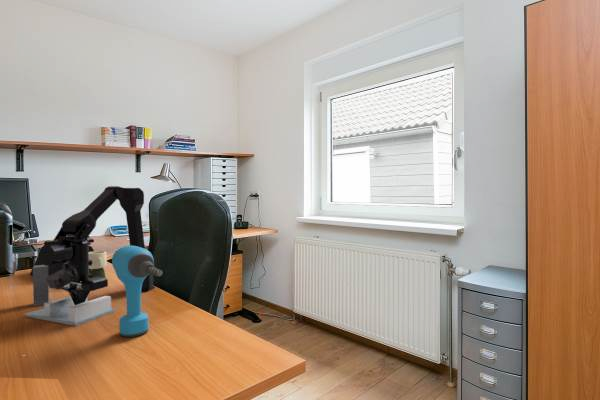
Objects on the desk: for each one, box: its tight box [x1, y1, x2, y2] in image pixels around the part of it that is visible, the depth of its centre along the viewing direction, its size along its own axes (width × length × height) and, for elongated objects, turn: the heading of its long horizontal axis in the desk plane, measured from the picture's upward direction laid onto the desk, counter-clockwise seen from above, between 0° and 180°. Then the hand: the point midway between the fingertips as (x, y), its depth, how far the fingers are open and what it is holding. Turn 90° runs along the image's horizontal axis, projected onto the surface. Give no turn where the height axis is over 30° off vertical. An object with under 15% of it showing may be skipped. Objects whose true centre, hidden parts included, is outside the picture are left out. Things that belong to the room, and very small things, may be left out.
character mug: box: [88, 250, 108, 279], centre depth 146 cm, size 11×7×13 cm, turn 44°
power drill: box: [111, 245, 163, 338], centre depth 91 cm, size 28×9×23 cm, turn 43°
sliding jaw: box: [43, 295, 89, 317], centre depth 110 cm, size 2×12×4 cm, turn 159°
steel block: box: [32, 265, 50, 308], centre depth 119 cm, size 4×4×13 cm
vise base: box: [25, 295, 116, 327], centre depth 110 cm, size 22×13×5 cm, turn 69°
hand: (78, 309), depth 108 cm, fingers closed
